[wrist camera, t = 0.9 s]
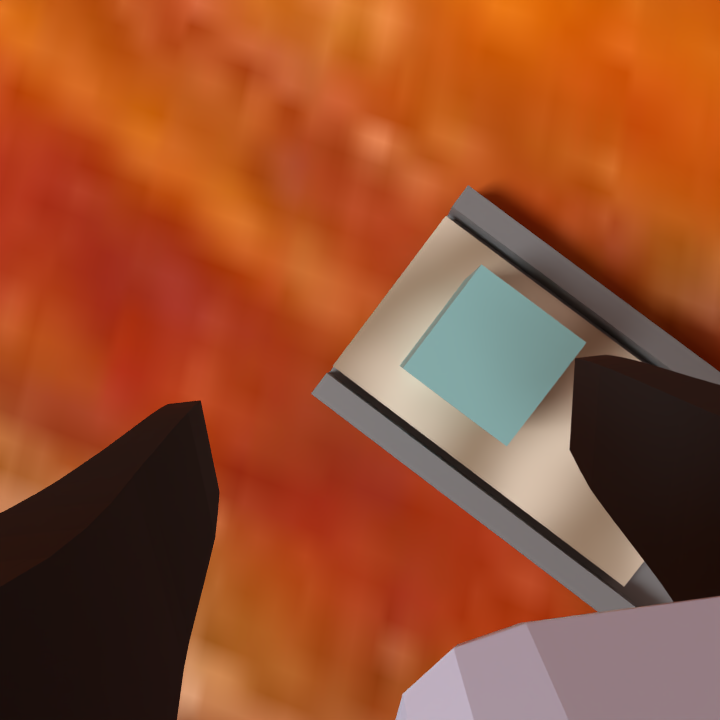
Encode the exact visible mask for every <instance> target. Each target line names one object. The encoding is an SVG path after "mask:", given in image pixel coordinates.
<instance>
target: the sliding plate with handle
mask: <svg viewBox="0 0 720 720" xmlns="http://www.w3.org/2000/svg"><path fill="white" fill-rule="evenodd" d="M481 264H482V265H483V266H484V267H486V268H487V269H488V270H490V271H491V272H492V273H494V274H495V275H496V276H498V277H499V278H500V279H502V280H503V281H504V282H506V283H507V284H509V285H510V286H511V287H513V288H514V289H515V290H517V291H518V292H519V293H521V294H522V295H523V296H525V297H526V298H527V299H529V300H530V301H531V302H533V303H534V304H535V305H537V306H538V307H539V308H541V309H542V310H543V311H545V312H546V313H547V314H549V315H550V316H551V317H553V318H554V319H555V320H557V321H558V322H559V323H561V324H562V325H564V326H565V327H566V328H568V329H569V330H570V331H572V332H573V333H574V334H576V335H577V336H578V337H580V338H581V339H582V340H584V341H585V342H586V344H585V345H584V347H583V348H582V349H581V350H580V352H579V353H578V354H577V356H576V357H575V358H580V357H589V356H598V355H613V356H619V357H624V358H628V359H632V360H636V361H640V360H639V359H637V358H636V357H635V356H633V355H632V354H631V353H629V352H628V351H627V350H625V349H624V348H622V347H621V346H620V345H618V344H617V343H616V342H614V341H613V340H612V339H610V338H609V337H608V336H606V335H605V334H604V333H602V332H601V331H600V330H598V329H597V328H596V327H594V326H593V325H592V324H590V323H589V322H588V321H586V320H585V319H584V318H582V317H581V316H580V315H578V314H577V313H575V312H574V311H573V310H571V309H570V308H569V307H567V306H566V305H565V304H563V303H562V302H561V301H559V300H558V299H557V298H555V297H554V296H553V295H551V294H550V293H549V292H547V291H546V290H545V289H543V288H542V287H541V286H539V285H538V284H537V283H535V282H534V281H532V280H531V279H530V278H528V277H527V276H526V275H524V274H523V273H522V272H520V271H519V270H518V269H516V268H515V267H514V266H512V265H511V264H510V263H508V262H507V261H506V260H504V259H503V258H502V257H500V256H499V255H498V254H496V253H495V252H494V251H492V250H491V249H489V248H488V247H487V246H485V245H484V244H483V243H481V242H480V241H479V240H477V239H476V238H475V237H473V236H472V235H471V234H469V233H468V232H467V231H465V230H464V229H463V228H461V227H460V226H459V225H457V224H456V223H455V222H453V221H452V220H451V219H449V218H448V217H447V216H445V218H444V219H443V220H442V222H441V223H440V224H439V226H438V227H437V228H436V230H435V231H434V232H433V234H432V235H431V236H430V238H429V239H428V240H427V242H426V243H425V244H424V246H423V247H422V248H421V250H420V251H419V252H418V254H417V255H416V256H415V258H414V259H413V260H412V262H411V263H410V264H409V266H408V267H407V268H406V270H405V271H404V272H403V274H402V275H401V276H400V277H399V279H398V280H397V281H396V283H395V284H394V285H393V287H392V288H391V289H390V291H389V292H388V293H387V295H386V296H385V297H384V299H383V300H382V301H381V303H380V304H379V305H378V307H377V308H376V309H375V311H374V312H373V313H372V315H371V316H370V317H369V319H368V320H367V321H366V323H365V324H364V325H363V327H362V328H361V329H360V331H359V332H358V333H357V335H356V336H355V337H354V339H353V340H352V341H351V343H350V344H349V345H348V347H347V348H346V349H345V351H344V352H343V353H342V354H341V356H340V357H339V358H338V360H337V361H336V362H335V364H334V365H333V367H335V368H336V369H337V370H339V371H340V372H341V373H343V374H344V375H345V376H347V377H348V378H349V379H351V380H352V381H353V382H355V383H356V384H357V385H359V386H360V387H361V388H363V389H364V390H365V391H366V392H368V393H369V394H370V395H372V396H373V397H374V398H376V399H377V400H378V401H380V402H381V403H382V404H384V405H385V406H386V407H388V408H389V409H390V410H392V411H393V412H394V413H396V414H397V415H398V416H399V417H401V418H402V419H403V420H405V421H406V422H407V423H409V424H410V425H411V426H413V427H414V428H415V429H417V430H418V431H419V432H421V433H422V434H423V435H425V436H426V437H427V438H429V439H430V440H431V441H432V442H434V443H435V444H436V445H438V446H439V447H440V448H442V449H443V450H444V451H446V452H447V453H448V454H450V455H451V456H452V457H454V458H455V459H456V460H458V461H459V462H460V463H462V464H463V465H464V466H465V467H467V468H468V469H469V470H471V471H472V472H473V473H475V474H476V475H477V476H479V477H480V478H481V479H483V480H484V481H485V482H487V483H488V484H489V485H491V486H492V487H493V488H495V489H496V490H497V491H498V492H500V493H501V494H502V495H504V496H505V497H506V498H508V499H509V500H510V501H512V502H513V503H514V504H516V505H517V506H518V507H520V508H521V509H522V510H524V511H525V512H526V513H528V514H529V515H530V516H531V517H533V518H534V519H535V520H537V521H538V522H539V523H541V524H542V525H543V526H545V527H546V528H547V529H549V530H550V531H551V532H553V533H554V534H555V535H557V536H558V537H559V538H561V539H562V540H563V541H565V542H566V543H567V544H568V545H570V546H571V547H572V548H574V549H575V550H576V551H578V552H579V553H580V554H582V555H583V556H584V557H586V558H587V559H588V560H590V561H591V562H592V563H594V564H595V565H596V566H598V567H599V568H600V569H601V570H603V571H604V572H605V573H607V574H608V575H609V576H611V577H612V578H613V579H615V580H616V581H617V582H619V583H620V584H621V585H623V586H625V585H626V584H627V582H628V581H629V580H630V579H631V577H632V576H633V575H634V574H635V572H636V571H637V570H638V568H639V567H640V566H641V565H642V563H643V562H644V560H643V559H642V558H641V556H640V555H639V554H638V552H637V551H636V550H635V548H634V547H633V546H632V544H631V543H630V542H629V541H628V539H627V538H626V537H625V535H624V534H623V533H622V531H621V530H620V529H619V527H618V526H617V525H616V523H615V522H614V521H613V519H612V518H611V517H610V515H609V514H608V513H607V511H606V510H605V509H604V507H603V506H602V505H601V503H600V502H599V501H598V499H597V498H596V496H595V495H594V494H593V492H592V491H591V489H590V488H589V486H588V484H587V482H586V480H585V479H584V477H583V475H582V473H581V472H580V470H579V468H578V466H577V464H576V462H575V460H574V458H573V456H572V454H571V452H570V450H569V448H570V432H571V415H572V399H573V382H574V365H575V358H574V360H573V361H572V362H571V363H570V365H569V366H568V367H567V369H566V370H565V371H564V373H563V374H562V375H561V376H560V378H559V379H558V380H557V382H556V383H555V384H554V386H553V387H552V388H551V390H550V391H549V392H548V393H547V395H546V396H545V397H544V399H543V400H542V401H541V403H540V404H539V405H538V406H537V408H536V409H535V410H534V412H533V413H532V414H531V416H530V417H529V418H528V419H527V421H526V422H525V423H524V425H523V426H522V427H521V429H520V430H519V431H518V432H517V434H516V435H515V436H514V438H513V439H512V440H511V442H510V443H509V444H508V446H505V445H504V444H503V443H501V442H500V441H499V440H497V439H496V438H495V437H493V436H492V435H491V434H489V433H488V432H486V431H485V430H484V429H482V428H481V427H480V426H478V425H477V424H476V423H475V422H473V421H472V420H471V419H469V418H468V417H467V416H465V415H464V414H463V413H461V412H460V411H459V410H457V409H456V408H455V407H453V406H452V405H451V404H449V403H448V402H447V401H445V400H444V399H443V398H441V397H440V396H439V395H437V394H436V393H435V392H433V391H432V390H431V389H429V388H428V387H427V386H425V385H424V384H423V383H422V382H420V381H419V380H418V379H416V378H415V377H414V376H412V375H411V374H410V373H408V372H407V371H406V370H404V369H403V368H402V367H400V364H401V363H402V362H403V360H404V359H405V358H406V357H407V355H408V354H409V353H410V351H411V350H412V349H413V347H414V346H415V345H416V343H417V342H418V341H419V339H420V338H421V337H422V335H423V334H424V333H425V331H426V330H427V329H428V327H429V326H430V325H431V324H432V322H433V321H434V320H435V318H436V317H437V316H438V314H439V313H440V312H441V310H442V309H443V308H444V306H445V305H446V304H447V302H448V301H449V300H450V298H451V297H452V296H453V294H454V293H455V292H456V291H457V289H458V288H459V287H460V285H461V284H462V283H463V281H464V280H465V279H466V278H467V277H468V276H469V275H471V274H472V273H473V272H474V271H475V270H476V269H477V268H478V267H479V266H480V265H481ZM640 362H641V361H640Z"/></svg>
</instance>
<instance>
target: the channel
mask: <svg viewBox="0 0 720 720" xmlns="http://www.w3.org/2000/svg"><path fill="white" fill-rule="evenodd" d="M447 217H448V218H449V219H451V220H452V221H453V222H455V223H456V224H457V225H459V226H460V227H461V228H463V229H464V230H465V231H467V232H468V233H469V234H471V235H472V236H473V237H475V238H476V239H477V240H479V241H480V242H481V243H483V244H484V245H485V246H487V247H488V248H489V249H491V250H492V251H494V252H495V253H496V254H498V255H499V256H500V257H502V258H503V259H504V260H506V261H507V262H508V263H510V264H511V265H512V266H514V267H515V268H516V269H518V270H519V271H520V272H522V273H523V274H524V275H526V276H527V277H528V278H530V279H531V280H532V281H534V282H535V283H537V284H538V285H539V286H541V287H542V288H543V289H545V290H546V291H547V292H549V293H550V294H551V295H553V296H554V297H555V298H557V299H558V300H559V301H561V302H562V303H563V304H565V305H566V306H567V307H569V308H570V309H571V310H573V311H574V312H575V313H577V314H578V315H580V316H581V317H582V318H584V319H585V320H586V321H588V322H589V323H590V324H592V325H593V326H594V327H596V328H597V329H598V330H600V331H601V332H602V333H604V334H605V335H606V336H608V337H609V338H610V339H612V340H613V341H614V342H616V343H617V344H618V345H620V346H621V347H622V348H624V349H625V350H627V351H628V352H629V353H631V354H632V355H633V356H635V357H636V358H637V359H639V360H640V361H641V362H644V363H647V364H651V365H654V366H657V367H661V368H664V369H668V370H671V371H674V372H678V373H681V374H684V375H688V376H691V377H695V378H698V379H701V380H705V381H708V382H712V383H715V384H719V385H720V372H719V371H718V370H716V369H715V368H714V367H712V366H711V365H710V364H708V363H707V362H706V361H704V360H703V359H701V358H700V357H699V356H697V355H696V354H695V353H693V352H692V351H691V350H689V349H688V348H687V347H685V346H684V345H683V344H681V343H680V342H679V341H677V340H676V339H675V338H673V337H672V336H670V335H669V334H668V333H666V332H665V331H664V330H662V329H661V328H660V327H658V326H657V325H656V324H654V323H653V322H652V321H650V320H649V319H648V318H646V317H645V316H644V315H642V314H641V313H639V312H638V311H637V310H635V309H634V308H633V307H631V306H630V305H629V304H627V303H626V302H625V301H623V300H622V299H621V298H619V297H618V296H617V295H615V294H614V293H613V292H611V291H610V290H608V289H607V288H606V287H604V286H603V285H602V284H600V283H599V282H598V281H596V280H595V279H594V278H592V277H591V276H590V275H588V274H587V273H586V272H584V271H583V270H582V269H580V268H579V267H577V266H576V265H575V264H573V263H572V262H571V261H569V260H568V259H567V258H565V257H564V256H563V255H561V254H560V253H559V252H557V251H556V250H555V249H553V248H552V247H550V246H549V245H548V244H546V243H545V242H544V241H542V240H541V239H540V238H538V237H537V236H536V235H534V234H533V233H532V232H530V231H529V230H528V229H526V228H525V227H524V226H522V225H521V224H519V223H518V222H517V221H515V220H514V219H513V218H511V217H510V216H509V215H507V214H506V213H505V212H503V211H502V210H501V209H499V208H498V207H497V206H495V205H494V204H493V203H491V202H490V201H488V200H487V199H486V198H484V197H483V196H482V195H480V194H479V193H478V192H476V191H475V190H474V189H472V188H471V187H470V186H467V188H466V189H465V190H464V192H463V193H462V194H461V195H460V197H459V198H458V199H457V201H456V202H455V203H454V205H453V206H452V208H451V210H450V212H449V215H448V216H447ZM311 394H312V395H314V396H315V397H316V398H318V399H319V400H320V401H322V402H323V403H324V404H325V405H327V406H328V407H329V408H331V409H332V410H333V411H335V412H336V413H337V414H339V415H340V416H341V417H343V418H344V419H345V420H347V421H348V422H349V423H350V424H352V425H353V426H354V427H356V428H357V429H358V430H360V431H361V432H362V433H364V434H365V435H366V436H368V437H369V438H370V439H372V440H373V441H374V442H375V443H377V444H378V445H379V446H381V447H382V448H383V449H385V450H386V451H387V452H389V453H390V454H391V455H393V456H394V457H395V458H397V459H398V460H399V461H400V462H402V463H403V464H404V465H406V466H407V467H408V468H410V469H411V470H412V471H414V472H415V473H416V474H418V475H419V476H420V477H422V478H423V479H424V480H425V481H427V482H428V483H429V484H431V485H432V486H433V487H435V488H436V489H437V490H439V491H440V492H441V493H443V494H444V495H445V496H447V497H448V498H449V499H450V500H452V501H453V502H454V503H456V504H457V505H458V506H460V507H461V508H462V509H464V510H465V511H466V512H468V513H469V514H470V515H472V516H473V517H474V518H475V519H477V520H478V521H479V522H481V523H482V524H483V525H485V526H486V527H487V528H489V529H490V530H491V531H493V532H494V533H495V534H497V535H498V536H499V537H500V538H502V539H503V540H504V541H506V542H507V543H508V544H510V545H511V546H512V547H514V548H515V549H516V550H518V551H519V552H520V553H522V554H523V555H524V556H526V557H527V558H528V559H529V560H531V561H532V562H533V563H535V564H536V565H537V566H539V567H540V568H541V569H543V570H544V571H545V572H547V573H548V574H549V575H551V576H552V577H553V578H554V579H556V580H557V581H558V582H560V583H561V584H562V585H564V586H565V587H566V588H568V589H569V590H570V591H572V592H573V593H574V594H576V595H577V596H578V597H579V598H581V599H582V600H583V601H585V602H586V603H587V604H589V605H590V606H591V607H593V608H594V609H595V610H597V611H598V612H605V611H612V610H619V609H627V608H634V607H641V606H649V605H656V604H663V603H671V602H673V600H672V599H671V597H670V596H669V595H668V593H667V592H666V590H665V589H664V587H663V586H662V584H661V583H660V582H659V580H658V579H657V577H656V576H655V575H654V573H653V572H652V571H651V569H650V568H649V567H648V566H647V564H646V563H645V562H643V563H642V565H641V566H640V567H639V568H638V570H637V571H636V572H635V574H634V575H633V576H632V577H631V579H630V580H629V581H628V582H627V584H626V585H625V586H623V585H621V584H620V583H619V582H617V581H616V580H615V579H613V578H612V577H611V576H609V575H608V574H607V573H605V572H604V571H603V570H601V569H600V568H599V567H598V566H596V565H595V564H594V563H592V562H591V561H590V560H588V559H587V558H586V557H584V556H583V555H582V554H580V553H579V552H578V551H576V550H575V549H574V548H572V547H571V546H570V545H568V544H567V543H566V542H565V541H563V540H562V539H561V538H559V537H558V536H557V535H555V534H554V533H553V532H551V531H550V530H549V529H547V528H546V527H545V526H543V525H542V524H541V523H539V522H538V521H537V520H535V519H534V518H533V517H531V516H530V515H529V514H528V513H526V512H525V511H524V510H522V509H521V508H520V507H518V506H517V505H516V504H514V503H513V502H512V501H510V500H509V499H508V498H506V497H505V496H504V495H502V494H501V493H500V492H498V491H497V490H496V489H495V488H493V487H492V486H491V485H489V484H488V483H487V482H485V481H484V480H483V479H481V478H480V477H479V476H477V475H476V474H475V473H473V472H472V471H471V470H469V469H468V468H467V467H465V466H464V465H463V464H462V463H460V462H459V461H458V460H456V459H455V458H454V457H452V456H451V455H450V454H448V453H447V452H446V451H444V450H443V449H442V448H440V447H439V446H438V445H436V444H435V443H434V442H432V441H431V440H430V439H429V438H427V437H426V436H425V435H423V434H422V433H421V432H419V431H418V430H417V429H415V428H414V427H413V426H411V425H410V424H409V423H407V422H406V421H405V420H403V419H402V418H401V417H399V416H398V415H397V414H396V413H394V412H393V411H392V410H390V409H389V408H388V407H386V406H385V405H384V404H382V403H381V402H380V401H378V400H377V399H376V398H374V397H373V396H372V395H370V394H369V393H368V392H366V391H365V390H364V389H363V388H361V387H360V386H359V385H357V384H356V383H355V382H353V381H352V380H351V379H349V378H348V377H347V376H345V375H344V374H343V373H341V372H340V371H339V370H337V369H336V368H335V367H333V369H332V370H331V371H330V372H329V373H326V375H325V376H324V377H323V379H322V380H321V381H320V383H319V384H318V385H317V387H316V388H315V389H314V391H313V392H312V393H311Z"/></svg>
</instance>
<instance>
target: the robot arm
mask: <svg viewBox="0 0 720 720" xmlns="http://www.w3.org/2000/svg"><path fill="white" fill-rule="evenodd" d="M569 450H570V452H571V454H572V456H573V458H574V460H575V462H576V464H577V466H578V468H579V470H580V472H581V473H582V475H583V477H584V479H585V480H586V482H587V484H588V486H589V488H590V489H591V491H592V492H593V494H594V495H595V496H596V498H597V499H598V501H599V502H600V503H601V505H602V506H603V507H604V509H605V510H606V511H607V513H608V514H609V515H610V517H611V518H612V519H613V521H614V522H615V523H616V525H617V526H618V527H619V529H620V530H621V531H622V533H623V534H624V535H625V537H626V538H627V539H628V541H629V542H630V543H631V544H632V546H633V547H634V548H635V550H636V551H637V552H638V554H639V555H640V556H641V558H642V559H643V560H644V562H645V563H646V564H647V566H648V567H649V568H650V569H651V571H652V572H653V573H654V575H655V576H656V577H657V579H658V580H659V582H660V583H661V584H662V586H663V587H664V589H665V590H666V592H667V593H668V595H669V596H670V597H671V599H672V600H673V602H671V603H663V604H656V605H649V606H641V607H634V608H627V609H619V610H612V611H605V612H597V613H590V614H583V615H575V616H568V617H561V618H553V619H546V620H539V621H531V622H524V623H519V624H516V625H513V626H510V627H507V628H504V629H501V630H499V631H496V632H493V633H490V634H487V635H484V636H481V637H478V638H475V639H472V640H469V641H466V642H463V643H460V644H457V645H456V646H455V647H454V648H453V649H452V650H451V651H450V652H449V653H447V654H446V655H445V656H444V657H443V658H442V659H441V660H440V661H439V662H437V663H436V664H435V665H434V666H433V667H432V668H431V669H430V670H429V671H428V672H426V673H425V674H424V675H423V676H422V677H421V678H420V679H419V680H418V681H416V682H415V683H414V684H413V685H412V686H411V687H410V688H409V689H408V690H407V691H405V692H404V693H403V695H402V699H401V702H400V706H399V710H398V713H397V717H396V720H720V385H719V384H715V383H712V382H708V381H705V380H701V379H698V378H695V377H691V376H688V375H684V374H681V373H678V372H674V371H671V370H668V369H664V368H661V367H657V366H654V365H651V364H647V363H644V362H640V361H636V360H632V359H628V358H624V357H619V356H613V355H598V356H589V357H580V358H575V365H574V382H573V399H572V415H571V432H570V448H569ZM218 503H219V488H218V483H217V478H216V473H215V468H214V463H213V458H212V454H211V449H210V444H209V439H208V434H207V429H206V424H205V420H204V415H203V410H202V405H201V401H192V402H183V403H174V404H167V405H165V406H164V407H162V408H160V409H158V410H157V411H156V412H154V413H153V414H151V415H150V416H148V417H147V418H146V419H144V420H143V421H142V422H140V423H139V424H138V425H136V426H135V427H134V428H132V429H131V430H130V431H128V432H127V433H126V434H124V435H123V436H121V437H120V438H119V439H117V440H116V441H115V442H113V443H112V444H111V445H109V446H108V447H107V448H105V449H104V450H103V451H101V452H100V453H98V454H97V455H95V456H94V457H92V458H91V459H89V460H88V461H86V462H85V463H83V464H82V465H81V466H79V467H78V468H76V469H75V470H73V471H72V472H70V473H69V474H67V475H66V476H64V477H63V478H61V479H60V480H58V481H56V482H55V483H53V484H52V485H50V486H48V487H47V488H45V489H43V490H42V491H40V492H38V493H37V494H35V495H33V496H31V497H29V498H28V499H26V500H24V501H22V502H20V503H19V504H17V505H15V506H13V507H11V508H9V509H8V510H6V511H4V512H2V513H0V720H177V714H178V707H179V699H180V692H181V685H182V678H183V671H184V665H185V660H186V655H187V650H188V645H189V640H190V636H191V632H192V628H193V624H194V620H195V616H196V612H197V608H198V605H199V601H200V597H201V593H202V589H203V585H204V581H205V577H206V573H207V569H208V565H209V561H210V556H211V552H212V548H213V544H214V540H215V533H216V524H217V515H218Z"/></svg>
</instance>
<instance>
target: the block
mask: <svg viewBox="0 0 720 720" xmlns="http://www.w3.org/2000/svg"><path fill="white" fill-rule="evenodd" d="M585 344H586V342H585V341H584V340H582V339H581V338H580V337H578V336H577V335H576V334H574V333H573V332H572V331H570V330H569V329H568V328H566V327H565V326H564V325H562V324H561V323H559V322H558V321H557V320H555V319H554V318H553V317H551V316H550V315H549V314H547V313H546V312H545V311H543V310H542V309H541V308H539V307H538V306H537V305H535V304H534V303H533V302H531V301H530V300H529V299H527V298H526V297H525V296H523V295H522V294H521V293H519V292H518V291H517V290H515V289H514V288H513V287H511V286H510V285H509V284H507V283H506V282H504V281H503V280H502V279H500V278H499V277H498V276H496V275H495V274H494V273H492V272H491V271H490V270H488V269H487V268H486V267H484V266H483V265H482V264H481V265H480V266H479V267H478V268H477V269H476V270H475V271H474V272H473V273H472V274H471V275H469V276H468V277H467V278H466V279H465V280H464V281H463V283H462V284H461V285H460V287H459V288H458V289H457V291H456V292H455V293H454V294H453V296H452V297H451V298H450V300H449V301H448V302H447V304H446V305H445V306H444V308H443V309H442V310H441V312H440V313H439V314H438V316H437V317H436V318H435V320H434V321H433V322H432V324H431V325H430V326H429V327H428V329H427V330H426V331H425V333H424V334H423V335H422V337H421V338H420V339H419V341H418V342H417V343H416V345H415V346H414V347H413V349H412V350H411V351H410V353H409V354H408V355H407V357H406V358H405V359H404V360H403V362H402V363H401V364H400V367H402V368H403V369H404V370H406V371H407V372H408V373H410V374H411V375H412V376H414V377H415V378H416V379H418V380H419V381H420V382H422V383H423V384H424V385H425V386H427V387H428V388H429V389H431V390H432V391H433V392H435V393H436V394H437V395H439V396H440V397H441V398H443V399H444V400H445V401H447V402H448V403H449V404H451V405H452V406H453V407H455V408H456V409H457V410H459V411H460V412H461V413H463V414H464V415H465V416H467V417H468V418H469V419H471V420H472V421H473V422H475V423H476V424H477V425H478V426H480V427H481V428H482V429H484V430H485V431H486V432H488V433H489V434H491V435H492V436H493V437H495V438H496V439H497V440H499V441H500V442H501V443H503V444H504V445H505V446H508V444H509V443H510V442H511V440H512V439H513V438H514V436H515V435H516V434H517V432H518V431H519V430H520V429H521V427H522V426H523V425H524V423H525V422H526V421H527V419H528V418H529V417H530V416H531V414H532V413H533V412H534V410H535V409H536V408H537V406H538V405H539V404H540V403H541V401H542V400H543V399H544V397H545V396H546V395H547V393H548V392H549V391H550V390H551V388H552V387H553V386H554V384H555V383H556V382H557V380H558V379H559V378H560V376H561V375H562V374H563V373H564V371H565V370H566V369H567V367H568V366H569V365H570V363H571V362H572V361H573V360H574V358H575V357H576V356H577V354H578V353H579V352H580V350H581V349H582V348H583V347H584V345H585Z"/></svg>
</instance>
